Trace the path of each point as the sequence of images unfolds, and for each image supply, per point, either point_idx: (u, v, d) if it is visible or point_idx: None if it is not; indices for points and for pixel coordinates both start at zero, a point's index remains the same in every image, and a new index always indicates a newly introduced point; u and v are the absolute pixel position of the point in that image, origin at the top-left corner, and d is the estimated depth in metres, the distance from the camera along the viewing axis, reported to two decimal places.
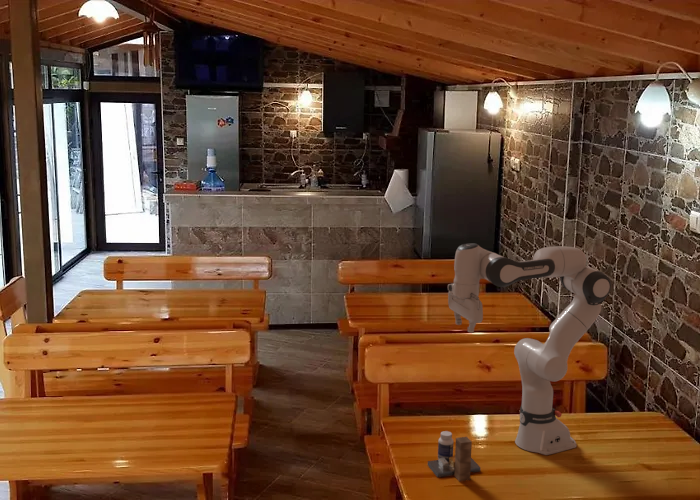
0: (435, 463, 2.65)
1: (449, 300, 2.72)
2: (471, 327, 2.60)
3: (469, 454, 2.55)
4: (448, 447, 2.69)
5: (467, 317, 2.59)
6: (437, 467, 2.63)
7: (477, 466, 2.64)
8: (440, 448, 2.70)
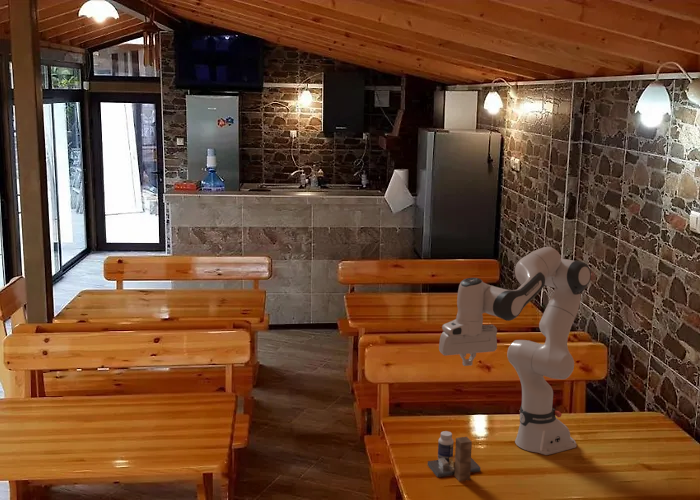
0: (435, 463, 2.65)
1: (447, 346, 2.53)
2: None
3: (469, 454, 2.55)
4: (448, 447, 2.69)
5: (485, 349, 2.57)
6: (437, 467, 2.63)
7: (477, 466, 2.64)
8: (440, 448, 2.70)
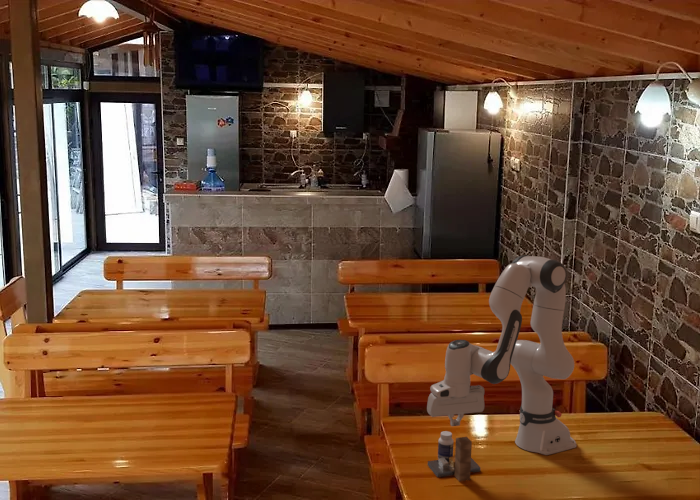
0: (435, 463, 2.65)
1: (434, 408, 2.56)
2: None
3: (469, 454, 2.55)
4: (448, 447, 2.69)
5: (472, 410, 2.61)
6: (437, 467, 2.63)
7: (477, 466, 2.64)
8: (440, 448, 2.70)
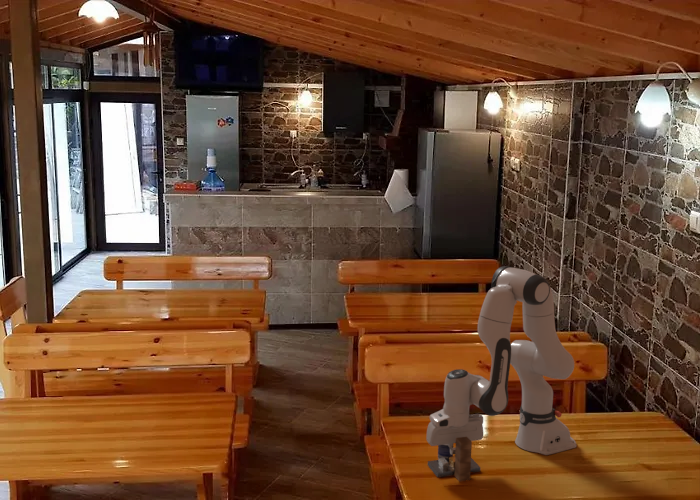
0: (435, 463, 2.65)
1: (434, 437, 2.58)
2: None
3: (469, 454, 2.55)
4: (448, 447, 2.69)
5: (471, 438, 2.63)
6: (437, 467, 2.63)
7: (477, 466, 2.64)
8: (440, 448, 2.70)
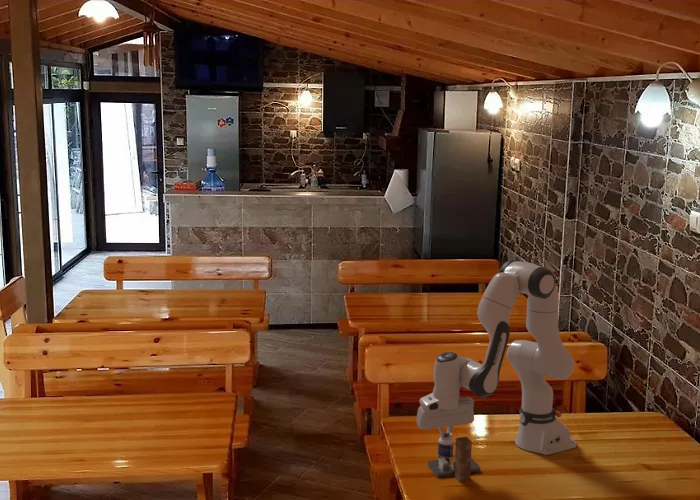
0: (435, 463, 2.65)
1: (424, 421, 2.56)
2: None
3: (469, 454, 2.55)
4: (448, 447, 2.69)
5: (462, 422, 2.60)
6: (437, 467, 2.63)
7: (477, 466, 2.64)
8: (440, 448, 2.70)
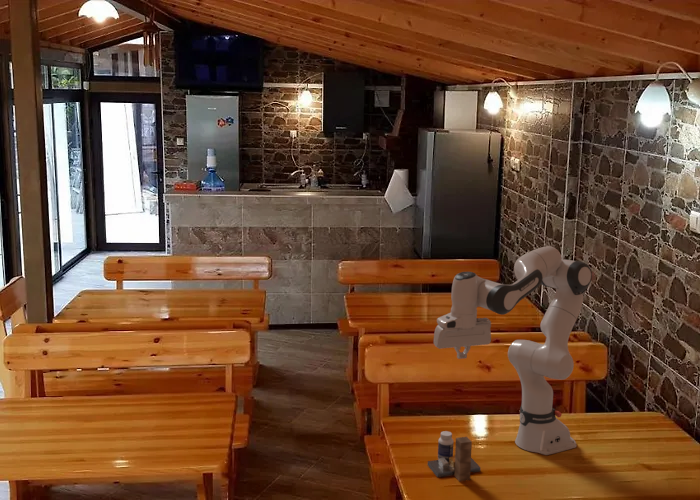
0: (435, 463, 2.65)
1: (441, 339, 2.56)
2: None
3: (469, 454, 2.55)
4: (448, 447, 2.69)
5: (479, 342, 2.60)
6: (437, 467, 2.63)
7: (477, 466, 2.64)
8: (440, 448, 2.70)
